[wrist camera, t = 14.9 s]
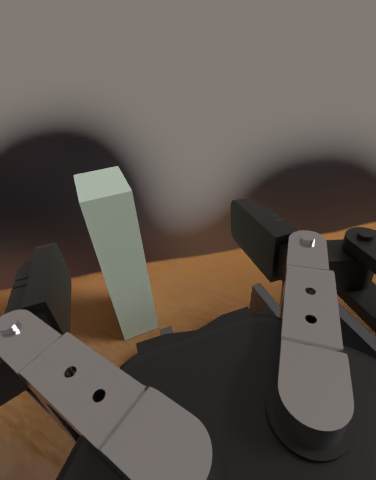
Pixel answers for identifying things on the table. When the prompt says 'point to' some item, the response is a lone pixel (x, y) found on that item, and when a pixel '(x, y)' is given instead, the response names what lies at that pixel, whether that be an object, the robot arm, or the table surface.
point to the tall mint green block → (118, 247)
